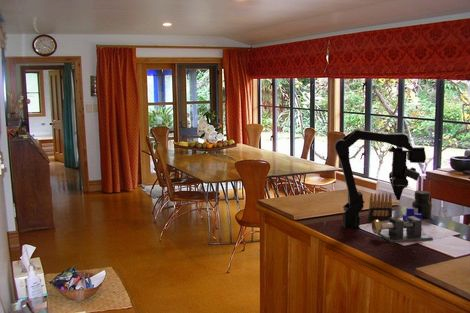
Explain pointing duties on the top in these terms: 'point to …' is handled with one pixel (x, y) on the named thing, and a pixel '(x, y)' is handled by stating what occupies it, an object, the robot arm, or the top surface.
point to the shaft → (387, 226)
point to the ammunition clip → (380, 207)
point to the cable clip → (411, 214)
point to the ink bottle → (422, 204)
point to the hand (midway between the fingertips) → (397, 197)
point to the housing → (405, 231)
